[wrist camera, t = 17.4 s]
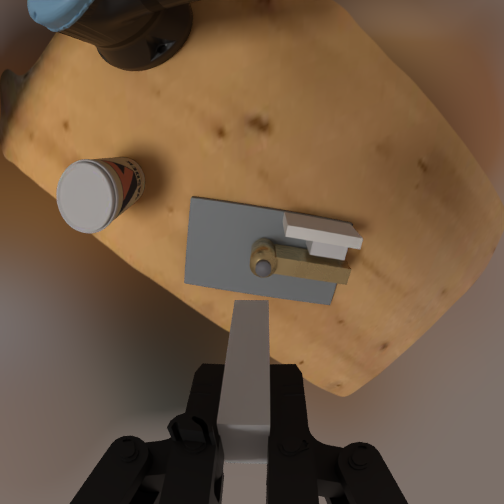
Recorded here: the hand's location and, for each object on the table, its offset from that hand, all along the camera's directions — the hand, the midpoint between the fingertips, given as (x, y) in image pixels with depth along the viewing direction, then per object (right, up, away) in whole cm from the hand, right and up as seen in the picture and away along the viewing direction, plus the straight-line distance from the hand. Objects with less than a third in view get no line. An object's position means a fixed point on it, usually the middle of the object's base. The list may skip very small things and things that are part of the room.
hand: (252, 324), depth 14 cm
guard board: (+2, +3, +32) cm, 33 cm away
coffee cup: (-20, +14, +29) cm, 38 cm away
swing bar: (+7, +3, +31) cm, 32 cm away
